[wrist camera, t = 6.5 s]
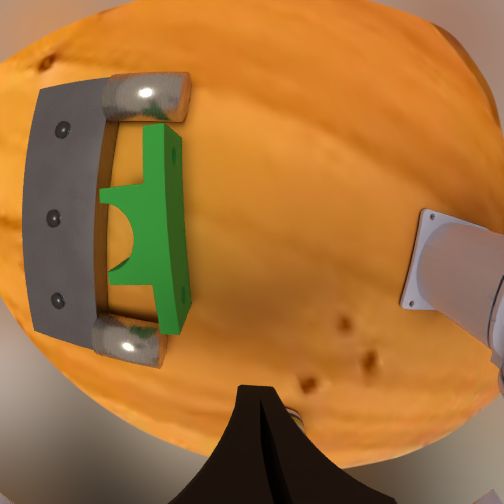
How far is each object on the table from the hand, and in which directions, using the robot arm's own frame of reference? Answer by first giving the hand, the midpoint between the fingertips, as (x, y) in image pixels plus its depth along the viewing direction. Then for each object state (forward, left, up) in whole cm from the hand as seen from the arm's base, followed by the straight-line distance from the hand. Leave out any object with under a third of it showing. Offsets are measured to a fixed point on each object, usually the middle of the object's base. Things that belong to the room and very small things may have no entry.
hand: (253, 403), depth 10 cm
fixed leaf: (+11, -5, -9) cm, 15 cm away
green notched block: (+6, -5, -10) cm, 13 cm away
